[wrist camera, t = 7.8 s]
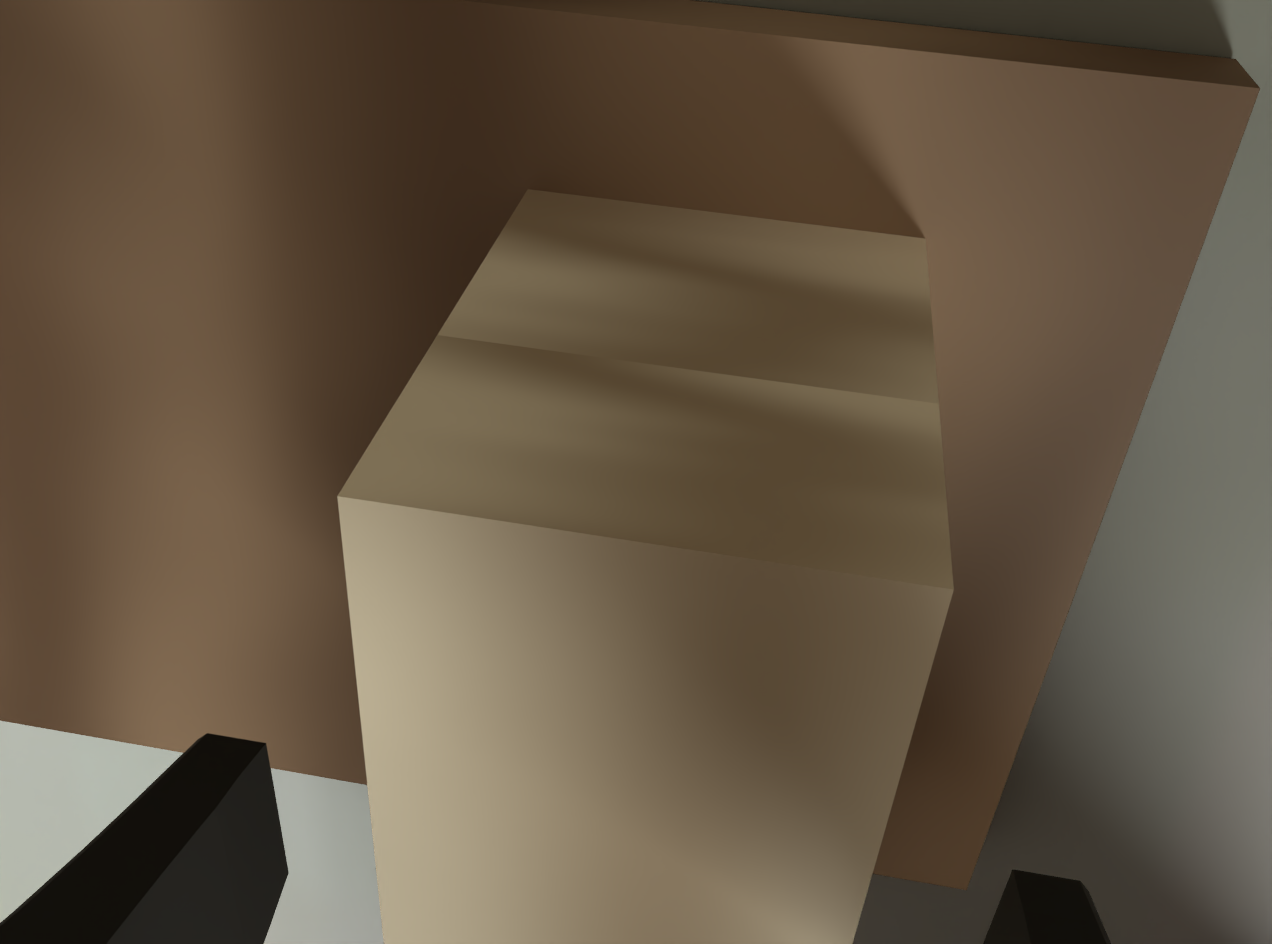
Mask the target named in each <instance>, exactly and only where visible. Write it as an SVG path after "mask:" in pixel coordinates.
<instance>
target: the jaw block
mask: <svg viewBox="0 0 1272 944" xmlns="http://www.w3.org/2000/svg"><path fill="white" fill-rule="evenodd" d="M337 498H338V508H339V517H340V527H341V537H342V546H343V556H344V565H345V575H346V585H347V594H348V604H349V613H350V623H351V633H352V642H353V652H354V661H355V671H356V680H357V690H358V700H359V709H360V719H361V728H362V738H363V748H364V757H365V767H366V776H367V786H368V796H369V805H370V815H371V824H372V834H373V844H374V853H375V863H376V872H377V882H378V891H379V901H380V911H381V920H382V930H383V939H384V944H853V940H854V937H855V933H856V930H857V926H858V923H859V919H860V916H861V912H862V909H863V905H864V902H865V898H866V895H867V891H868V888H869V884H870V881H871V877H872V874H873V870H874V867H875V863H876V860H877V856H878V853H879V849H880V846H881V842H882V839H883V835H884V832H885V828H886V825H887V821H888V818H889V814H890V811H891V807H892V804H893V800H894V797H895V793H896V790H897V786H898V783H899V779H900V776H901V772H902V769H903V765H904V762H905V758H906V755H907V751H908V748H909V744H910V741H911V737H912V734H913V730H914V727H915V723H916V720H917V716H918V713H919V709H920V706H921V703H922V699H923V696H924V692H925V689H926V685H927V682H928V678H929V675H930V671H931V668H932V664H933V661H934V657H935V654H936V650H937V647H938V643H939V640H940V636H941V633H942V629H943V626H944V622H945V619H946V615H947V612H948V608H949V605H950V601H951V598H952V594H953V591H954V586H953V573H952V561H951V549H950V536H949V524H948V512H947V499H946V487H945V474H944V462H943V450H942V437H941V425H940V412H939V400H938V388H937V375H936V363H935V350H934V338H933V326H932V313H931V301H930V288H929V276H928V264H927V251H926V239H925V238H917V237H909V236H901V235H893V234H885V233H877V232H869V231H861V230H853V229H845V228H837V227H829V226H821V225H813V224H804V223H796V222H788V221H780V220H772V219H764V218H756V217H748V216H740V215H732V214H724V213H716V212H708V211H700V210H692V209H684V208H676V207H667V206H659V205H651V204H643V203H635V202H627V201H619V200H611V199H603V198H595V197H587V196H579V195H571V194H563V193H555V192H547V191H539V190H531V189H528V190H527V191H526V193H525V195H524V196H523V198H522V199H521V201H520V203H519V204H518V206H517V208H516V209H515V211H514V212H513V214H512V216H511V217H510V219H509V220H508V222H507V224H506V225H505V227H504V228H503V230H502V232H501V233H500V235H499V237H498V238H497V240H496V241H495V243H494V245H493V246H492V248H491V249H490V251H489V253H488V254H487V256H486V257H485V259H484V261H483V262H482V264H481V266H480V267H479V269H478V270H477V272H476V274H475V275H474V277H473V278H472V280H471V282H470V283H469V285H468V286H467V288H466V290H465V291H464V293H463V294H462V296H461V298H460V299H459V301H458V303H457V304H456V306H455V307H454V309H453V311H452V312H451V314H450V315H449V317H448V319H447V320H446V322H445V323H444V325H443V327H442V328H441V330H440V332H439V333H438V335H437V336H436V338H435V340H434V341H433V343H432V344H431V346H430V348H429V349H428V351H427V352H426V354H425V356H424V357H423V359H422V361H421V362H420V364H419V365H418V367H417V369H416V370H415V372H414V373H413V375H412V377H411V378H410V380H409V381H408V383H407V385H406V386H405V388H404V390H403V391H402V393H401V394H400V396H399V398H398V399H397V401H396V402H395V404H394V406H393V407H392V409H391V410H390V412H389V414H388V415H387V417H386V419H385V420H384V422H383V423H382V425H381V427H380V428H379V430H378V431H377V433H376V435H375V436H374V438H373V439H372V441H371V443H370V444H369V446H368V448H367V449H366V451H365V452H364V454H363V456H362V457H361V459H360V460H359V462H358V464H357V465H356V467H355V468H354V470H353V472H352V473H351V475H350V477H349V478H348V480H347V481H346V483H345V485H344V486H343V488H342V489H341V491H340V493H339V494H338V496H337Z"/></svg>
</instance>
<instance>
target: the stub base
mask: <svg viewBox="0 0 1272 944" xmlns="http://www.w3.org/2000/svg"><path fill="white" fill-rule="evenodd" d="M1259 90H1260V88H1259V86H1258V85H1257V84H1256V83H1255V82H1254V80H1253V79H1252V78H1251V77H1250V76H1249V74H1248V73H1247V72H1246V71H1245V70H1244V68H1243V67H1242V66H1241V65H1240V64H1239V62H1238V61H1237V60H1236V59H1231V58H1221V57H1212V56H1203V55H1194V54H1184V53H1175V52H1166V51H1157V50H1147V49H1138V48H1129V47H1119V46H1110V45H1101V44H1092V43H1082V42H1073V41H1064V40H1055V39H1045V38H1036V37H1027V36H1018V35H1008V34H999V33H990V32H980V31H971V30H962V29H953V28H943V27H934V26H925V25H916V24H906V23H897V22H888V21H878V20H869V19H860V18H851V17H841V16H832V15H823V14H814V13H804V12H795V11H786V10H777V9H767V8H758V7H749V6H739V5H730V4H721V3H712V2H702V1H693V0H0V720H1V721H6V722H12V723H18V724H24V725H29V726H35V727H41V728H46V729H52V730H58V731H63V732H69V733H75V734H80V735H86V736H92V737H98V738H103V739H109V740H115V741H120V742H126V743H132V744H137V745H143V746H149V747H154V748H160V749H166V750H172V751H177V752H183V753H184V752H185V751H186V750H187V749H188V748H189V747H190V746H191V745H192V744H193V743H194V742H196V741H197V740H198V739H199V738H200V737H202V736H204V735H205V734H207V733H210V734H216V735H222V736H228V737H234V738H239V739H245V740H251V741H257V742H263V743H266V745H267V751H268V756H269V762H270V768H274V769H280V770H285V771H291V772H297V773H302V774H308V775H314V776H320V777H325V778H331V779H337V780H342V781H348V782H354V783H359V784H365V785H367V776H366V767H365V757H364V748H363V738H362V728H361V719H360V709H359V700H358V690H357V680H356V671H355V661H354V652H353V642H352V633H351V623H350V613H349V604H348V594H347V585H346V575H345V565H344V556H343V546H342V537H341V527H340V517H339V508H338V498H337V496H338V494H339V493H340V491H341V489H342V488H343V486H344V485H345V483H346V481H347V480H348V478H349V477H350V475H351V473H352V472H353V470H354V468H355V467H356V465H357V464H358V462H359V460H360V459H361V457H362V456H363V454H364V452H365V451H366V449H367V448H368V446H369V444H370V443H371V441H372V439H373V438H374V436H375V435H376V433H377V431H378V430H379V428H380V427H381V425H382V423H383V422H384V420H385V419H386V417H387V415H388V414H389V412H390V410H391V409H392V407H393V406H394V404H395V402H396V401H397V399H398V398H399V396H400V394H401V393H402V391H403V390H404V388H405V386H406V385H407V383H408V381H409V380H410V378H411V377H412V375H413V373H414V372H415V370H416V369H417V367H418V365H419V364H420V362H421V361H422V359H423V357H424V356H425V354H426V352H427V351H428V349H429V348H430V346H431V344H432V343H433V341H434V340H435V338H436V336H437V335H438V333H439V332H440V330H441V328H442V327H443V325H444V323H445V322H446V320H447V319H448V317H449V315H450V314H451V312H452V311H453V309H454V307H455V306H456V304H457V303H458V301H459V299H460V298H461V296H462V294H463V293H464V291H465V290H466V288H467V286H468V285H469V283H470V282H471V280H472V278H473V277H474V275H475V274H476V272H477V270H478V269H479V267H480V266H481V264H482V262H483V261H484V259H485V257H486V256H487V254H488V253H489V251H490V249H491V248H492V246H493V245H494V243H495V241H496V240H497V238H498V237H499V235H500V233H501V232H502V230H503V228H504V227H505V225H506V224H507V222H508V220H509V219H510V217H511V216H512V214H513V212H514V211H515V209H516V208H517V206H518V204H519V203H520V201H521V199H522V198H523V196H524V195H525V193H526V191H527V190H528V189H531V190H539V191H547V192H555V193H563V194H571V195H579V196H587V197H595V198H603V199H611V200H619V201H627V202H635V203H643V204H651V205H659V206H667V207H676V208H684V209H692V210H700V211H708V212H716V213H724V214H732V215H740V216H748V217H756V218H764V219H772V220H780V221H788V222H796V223H804V224H813V225H821V226H829V227H837V228H845V229H853V230H861V231H869V232H877V233H885V234H893V235H901V236H909V237H917V238H925V239H926V251H927V264H928V276H929V288H930V301H931V313H932V326H933V338H934V350H935V363H936V375H937V388H938V400H939V412H940V425H941V437H942V450H943V462H944V474H945V487H946V499H947V512H948V524H949V536H950V549H951V561H952V573H953V586H954V591H953V594H952V598H951V601H950V605H949V608H948V612H947V615H946V619H945V622H944V626H943V629H942V633H941V636H940V640H939V643H938V647H937V650H936V654H935V657H934V661H933V664H932V668H931V671H930V675H929V678H928V682H927V685H926V689H925V692H924V696H923V699H922V703H921V706H920V709H919V713H918V716H917V720H916V723H915V727H914V730H913V734H912V737H911V741H910V744H909V748H908V751H907V755H906V758H905V762H904V765H903V769H902V772H901V776H900V779H899V783H898V786H897V790H896V793H895V797H894V800H893V804H892V807H891V811H890V814H889V818H888V821H887V825H886V828H885V832H884V835H883V839H882V842H881V846H880V849H879V853H878V856H877V860H876V863H875V867H874V870H873V874H877V875H883V876H889V877H895V878H900V879H906V880H912V881H917V882H923V883H929V884H934V885H940V886H946V887H951V888H957V889H963V890H967V888H968V885H969V882H970V879H971V877H972V874H973V871H974V868H975V866H976V863H977V860H978V858H979V855H980V852H981V849H982V847H983V844H984V841H985V838H986V836H987V833H988V830H989V827H990V825H991V822H992V819H993V817H994V814H995V811H996V808H997V806H998V803H999V800H1000V797H1001V795H1002V792H1003V789H1004V787H1005V784H1006V781H1007V778H1008V776H1009V773H1010V770H1011V767H1012V765H1013V762H1014V759H1015V756H1016V754H1017V751H1018V748H1019V746H1020V743H1021V740H1022V737H1023V735H1024V732H1025V729H1026V726H1027V724H1028V721H1029V718H1030V716H1031V713H1032V710H1033V707H1034V705H1035V702H1036V699H1037V696H1038V694H1039V691H1040V688H1041V685H1042V683H1043V680H1044V677H1045V675H1046V672H1047V669H1048V666H1049V664H1050V661H1051V658H1052V655H1053V653H1054V650H1055V647H1056V645H1057V642H1058V639H1059V636H1060V634H1061V631H1062V628H1063V625H1064V623H1065V620H1066V617H1067V614H1068V612H1069V609H1070V606H1071V604H1072V601H1073V598H1074V595H1075V593H1076V590H1077V587H1078V584H1079V582H1080V579H1081V576H1082V574H1083V571H1084V568H1085V565H1086V563H1087V560H1088V557H1089V554H1090V552H1091V549H1092V546H1093V543H1094V541H1095V538H1096V535H1097V533H1098V530H1099V527H1100V524H1101V522H1102V519H1103V516H1104V513H1105V511H1106V508H1107V505H1108V503H1109V500H1110V497H1111V494H1112V492H1113V489H1114V486H1115V483H1116V481H1117V478H1118V475H1119V472H1120V470H1121V467H1122V464H1123V462H1124V459H1125V456H1126V453H1127V451H1128V448H1129V445H1130V442H1131V440H1132V437H1133V434H1134V432H1135V429H1136V426H1137V423H1138V421H1139V418H1140V415H1141V412H1142V410H1143V407H1144V404H1145V401H1146V399H1147V396H1148V393H1149V391H1150V388H1151V385H1152V382H1153V380H1154V377H1155V374H1156V371H1157V369H1158V366H1159V363H1160V361H1161V358H1162V355H1163V352H1164V350H1165V347H1166V344H1167V341H1168V339H1169V336H1170V333H1171V330H1172V328H1173V325H1174V322H1175V320H1176V317H1177V314H1178V311H1179V309H1180V306H1181V303H1182V300H1183V298H1184V295H1185V292H1186V290H1187V287H1188V284H1189V281H1190V279H1191V276H1192V273H1193V270H1194V268H1195V265H1196V262H1197V259H1198V257H1199V254H1200V251H1201V249H1202V246H1203V243H1204V240H1205V238H1206V235H1207V232H1208V229H1209V227H1210V224H1211V221H1212V219H1213V216H1214V213H1215V210H1216V208H1217V205H1218V202H1219V199H1220V197H1221V194H1222V191H1223V188H1224V186H1225V183H1226V180H1227V178H1228V175H1229V172H1230V169H1231V167H1232V164H1233V161H1234V158H1235V156H1236V153H1237V150H1238V148H1239V145H1240V142H1241V139H1242V137H1243V134H1244V131H1245V128H1246V126H1247V123H1248V120H1249V117H1250V115H1251V112H1252V109H1253V107H1254V104H1255V101H1256V98H1257V96H1258V93H1259Z"/></svg>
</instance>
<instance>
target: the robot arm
mask: <svg viewBox="0 0 1272 944" xmlns="http://www.w3.org/2000/svg"><path fill="white" fill-rule="evenodd" d="M287 876H288V867H287V861H286V856H285V850H284V844H283V838H282V832H281V826H280V821H279V815H278V809H277V803H276V797H275V791H274V786H273V780H272V774H271V768H270V762H269V756H268V751H267V745H266V743H263V742H257V741H251V740H245V739H239V738H234V737H228V736H222V735H216V734H210V733H207V734H205V735H204V736H202V737H200V738H199V739H198V740H197V741H196V742H194V743H193V744H192V745H191V746H190V747H189V748H188V749H187V750H186V751H185V752H184V753H183V754H182V755H181V756H180V757H179V758H178V759H177V760H176V761H175V762H174V763H173V764H172V765H171V766H170V767H169V768H168V769H167V770H166V771H165V772H164V773H163V774H161V775H160V776H159V777H158V778H157V779H156V780H155V781H154V782H153V783H152V784H151V785H150V786H149V787H148V788H147V789H146V790H145V791H144V792H143V793H142V794H141V795H140V796H139V797H138V798H137V799H136V800H135V801H134V802H132V803H131V804H130V805H129V806H128V807H127V808H126V809H125V810H124V811H123V812H122V813H121V814H120V815H119V816H118V817H117V818H116V819H115V820H114V821H112V822H111V823H110V824H109V825H108V826H107V827H106V828H105V829H104V830H103V831H102V832H101V833H100V834H99V835H98V836H96V837H95V838H94V839H93V840H92V841H91V842H90V843H89V844H88V845H87V846H86V847H85V848H84V849H83V850H82V851H80V852H79V853H78V854H77V855H76V856H75V857H74V858H73V859H72V860H70V861H69V862H68V863H67V864H66V865H65V866H64V867H63V868H62V869H60V870H59V871H58V872H57V873H56V874H55V875H54V876H53V877H52V878H50V879H49V880H48V881H47V882H46V883H45V884H44V885H43V886H42V887H40V888H39V889H38V890H37V891H36V892H35V893H34V894H33V895H32V896H30V897H29V898H28V899H27V900H26V901H25V902H24V903H23V904H22V905H21V906H19V907H18V908H17V909H16V910H15V911H14V912H13V913H11V914H10V915H9V916H8V917H7V918H6V919H5V920H3V921H2V922H1V923H0V944H263V943H264V941H265V938H266V935H267V932H268V930H269V927H270V924H271V921H272V918H273V916H274V913H275V910H276V907H277V904H278V901H279V898H280V896H281V893H282V890H283V887H284V884H285V881H286V878H287ZM983 944H1111V943H1110V940H1109V938H1108V936H1107V934H1106V931H1105V929H1104V927H1103V924H1102V922H1101V920H1100V917H1099V915H1098V913H1097V910H1096V908H1095V906H1094V903H1093V901H1092V898H1091V896H1090V894H1089V891H1088V890H1087V889H1086V888H1085V886H1084V885H1083V884H1082V883H1081V881H1077V880H1071V879H1066V878H1060V877H1054V876H1048V875H1042V874H1036V873H1030V872H1024V871H1018V870H1012V872H1011V875H1010V877H1009V880H1008V883H1007V885H1006V888H1005V890H1004V893H1003V895H1002V898H1001V900H1000V903H999V905H998V908H997V910H996V913H995V915H994V918H993V920H992V923H991V925H990V928H989V931H988V933H987V936H986V938H985V941H984V943H983Z"/></svg>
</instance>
